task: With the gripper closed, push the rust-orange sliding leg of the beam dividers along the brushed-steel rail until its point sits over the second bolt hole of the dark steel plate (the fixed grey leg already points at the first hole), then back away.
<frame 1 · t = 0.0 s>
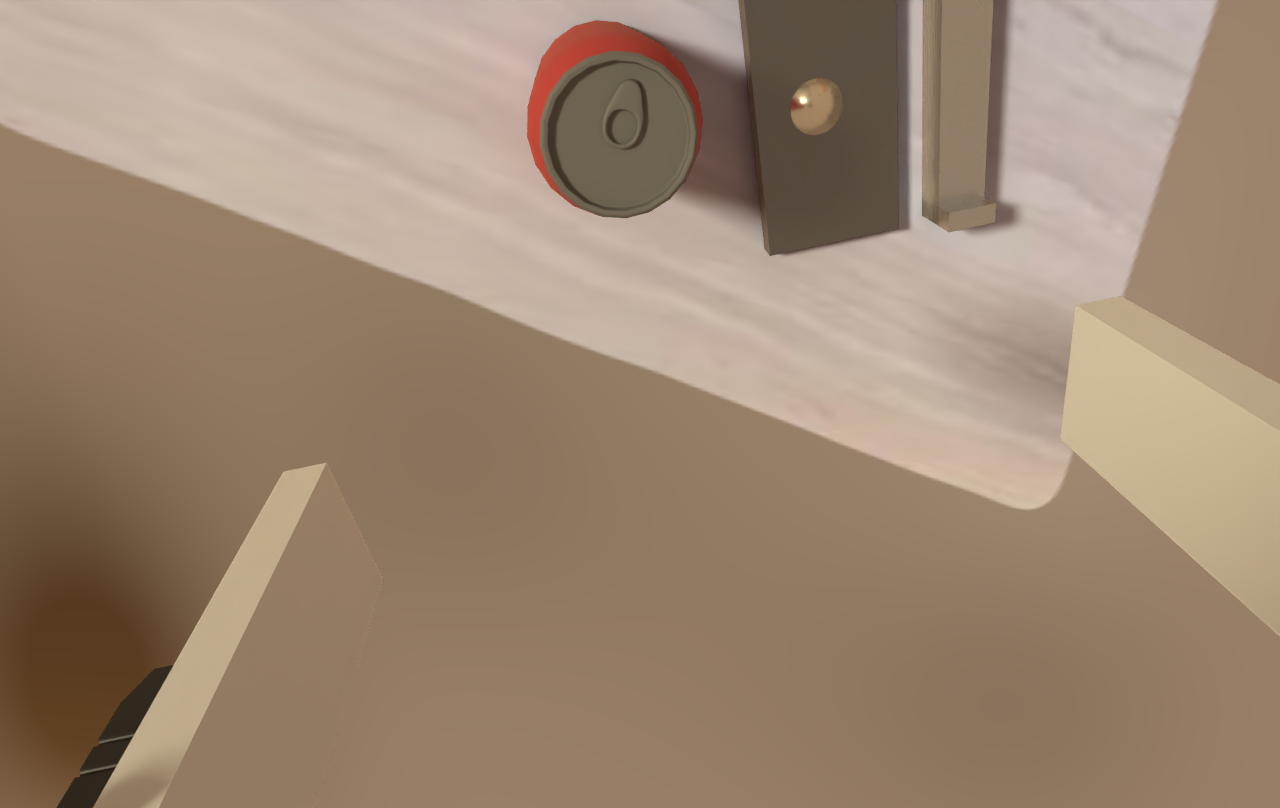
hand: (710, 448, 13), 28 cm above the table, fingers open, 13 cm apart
beer can: (602, 95, 36), on the table
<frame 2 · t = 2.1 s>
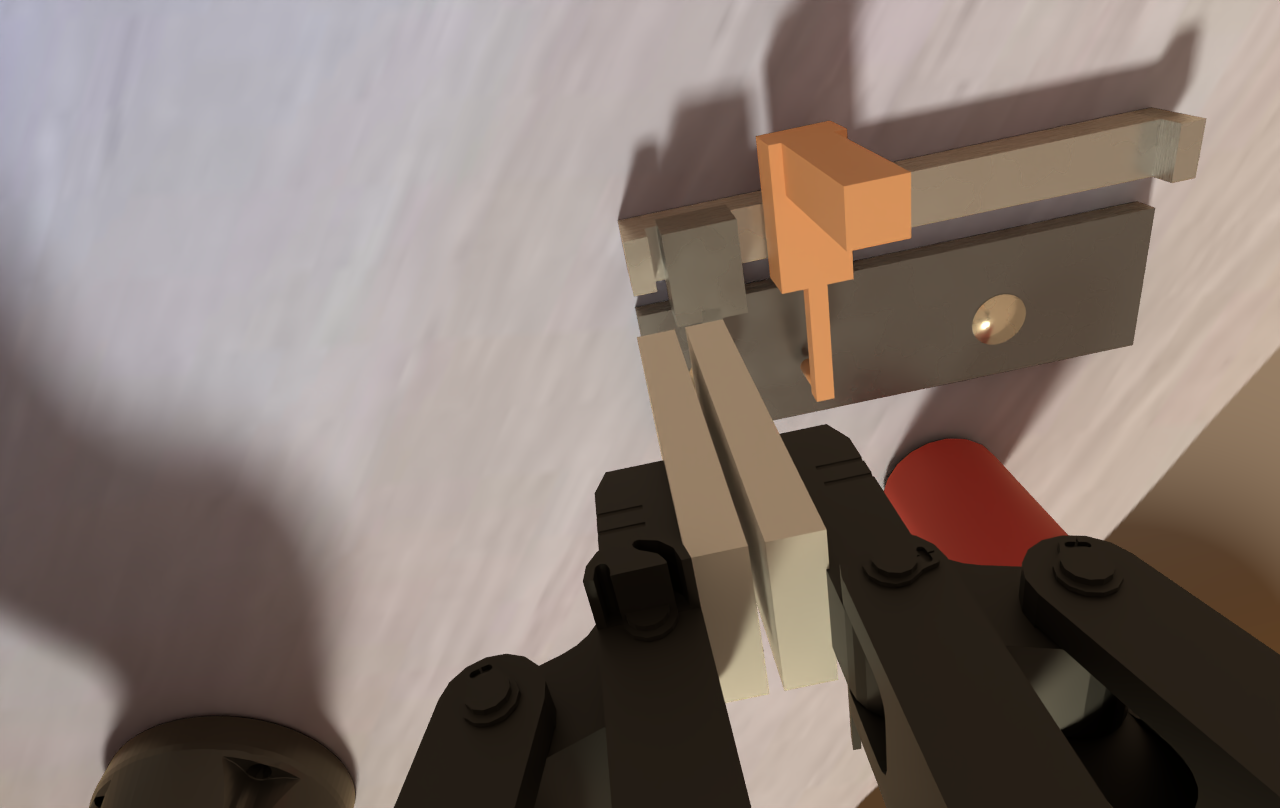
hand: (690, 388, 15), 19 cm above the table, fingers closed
hole plate: (886, 321, 37), on the table
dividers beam: (884, 191, 33), on the table
sliding leg: (835, 300, 29), point 7 cm above the table, slide at 1.0 cm
beer can: (934, 480, 42), on the table
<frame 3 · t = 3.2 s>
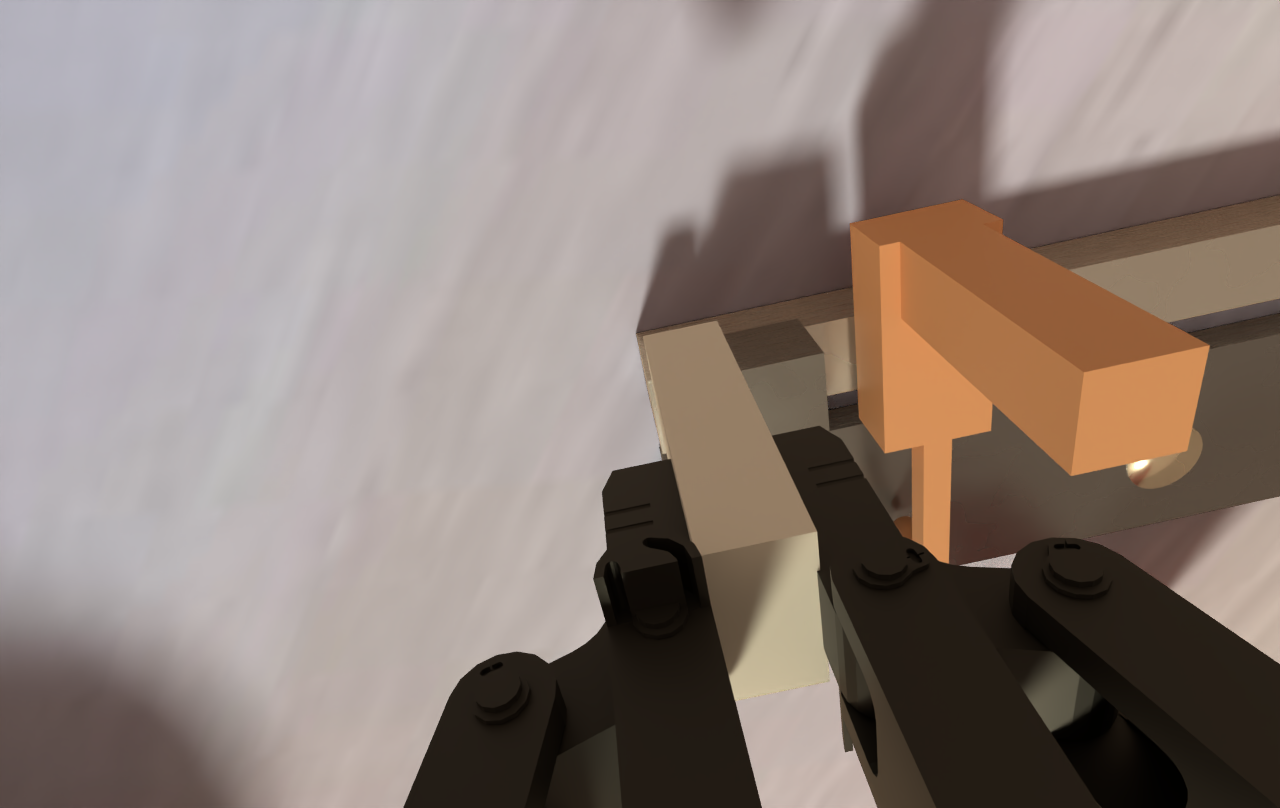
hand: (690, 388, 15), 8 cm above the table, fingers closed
hole plate: (1005, 456, 27), on the table
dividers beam: (1017, 287, 23), on the table
sliding leg: (979, 481, 19), point 7 cm above the table, slide at 1.0 cm
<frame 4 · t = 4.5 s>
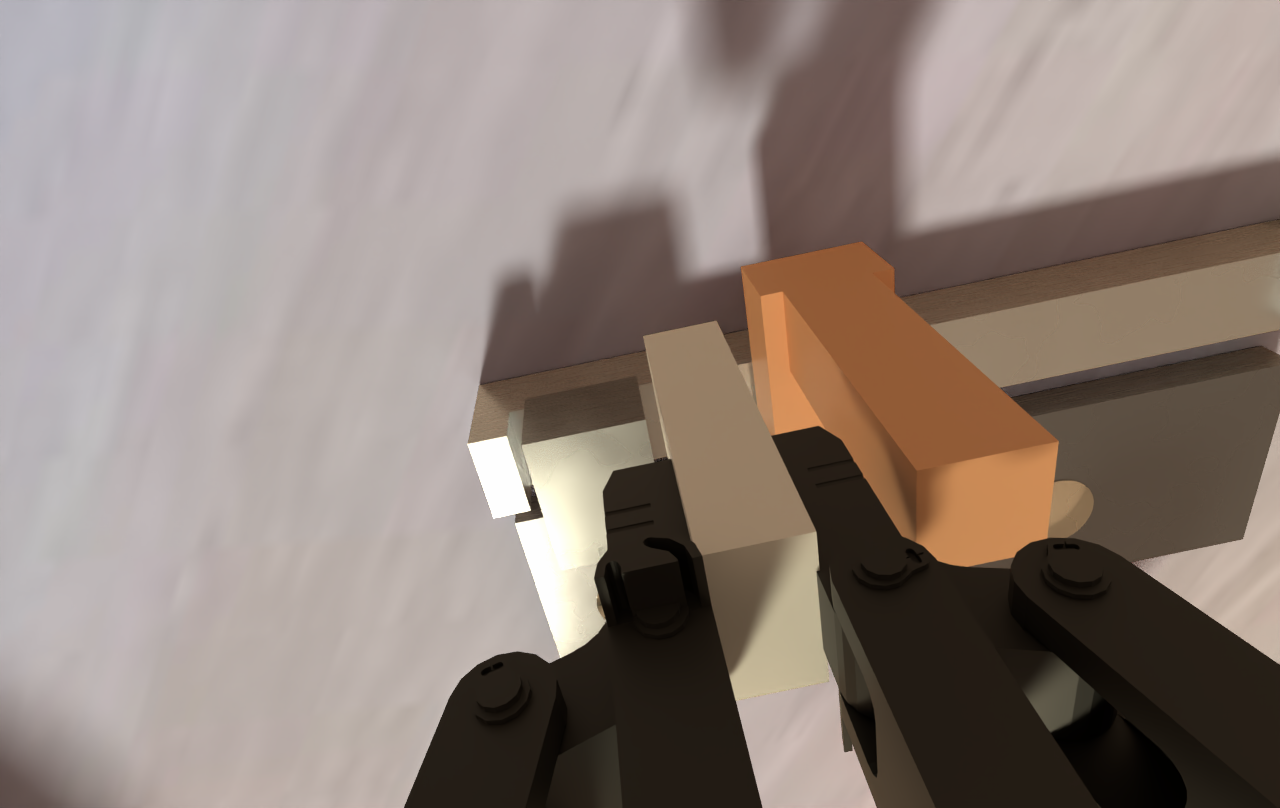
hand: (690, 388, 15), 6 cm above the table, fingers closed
hole plate: (889, 509, 25), on the table
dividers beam: (887, 337, 22), on the table
sliding leg: (871, 547, 17), point 7 cm above the table, slide at 2.5 cm, touching gripper
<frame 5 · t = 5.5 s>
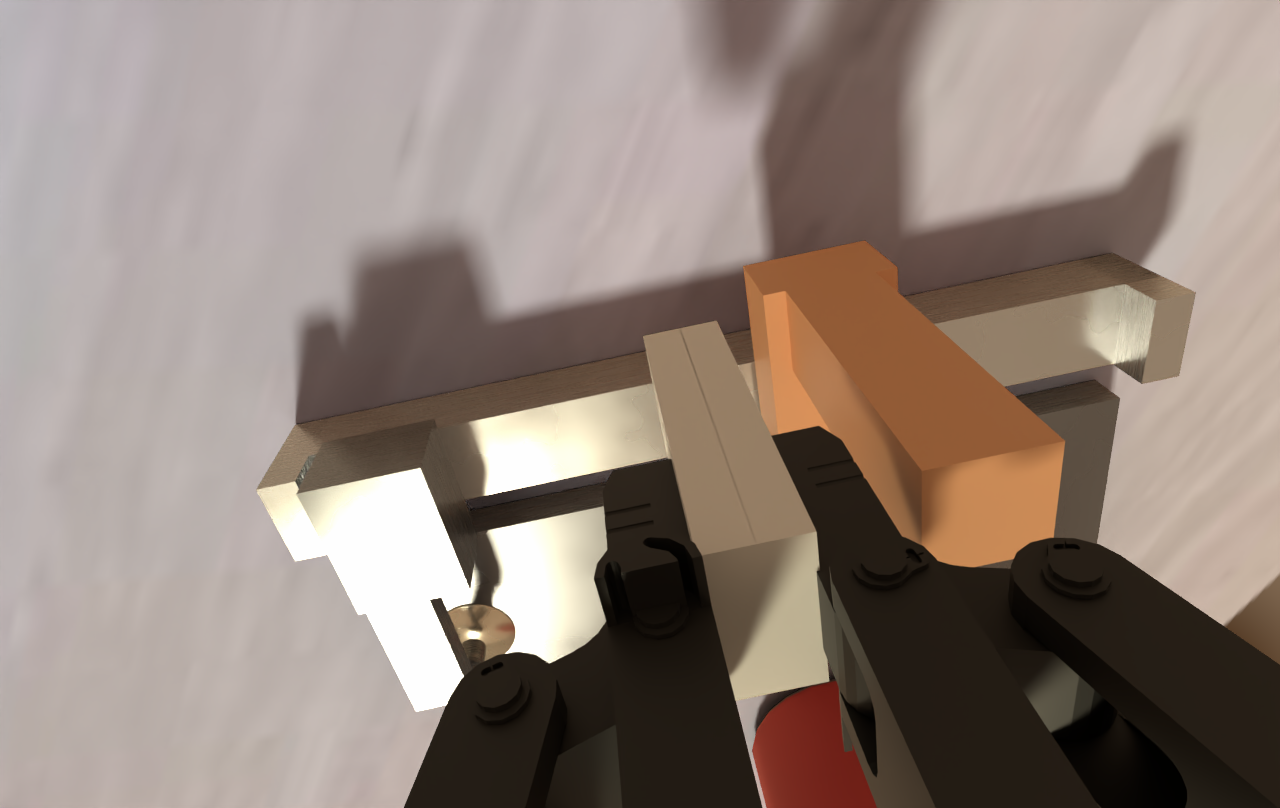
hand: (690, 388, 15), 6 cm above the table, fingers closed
hole plate: (734, 542, 25), on the table
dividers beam: (708, 375, 22), on the table
sliding leg: (875, 547, 17), point 7 cm above the table, slide at 8.0 cm, touching gripper
beer can: (826, 721, 31), on the table
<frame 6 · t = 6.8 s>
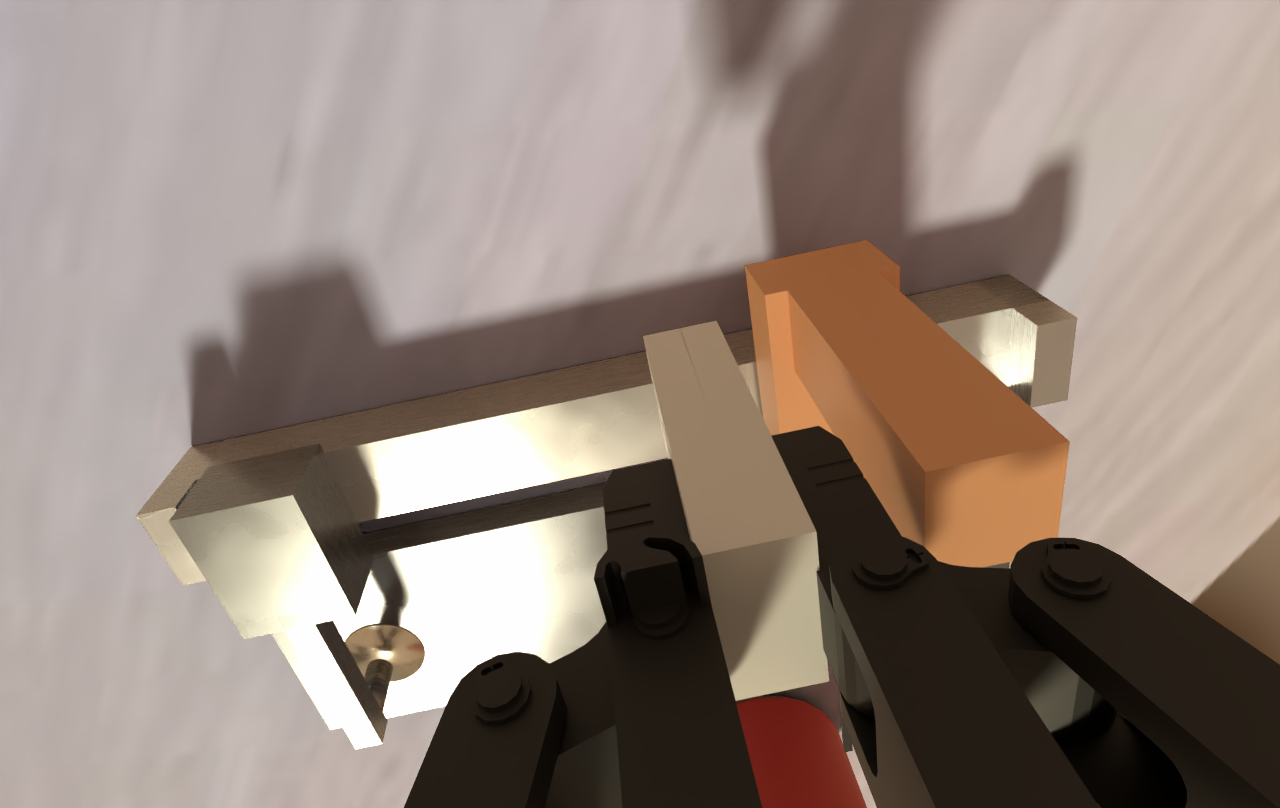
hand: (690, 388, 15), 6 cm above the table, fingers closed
hole plate: (646, 561, 25), on the table
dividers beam: (607, 396, 22), on the table
sliding leg: (877, 547, 17), point 7 cm above the table, slide at 11.1 cm, touching gripper
beer can: (754, 737, 31), on the table
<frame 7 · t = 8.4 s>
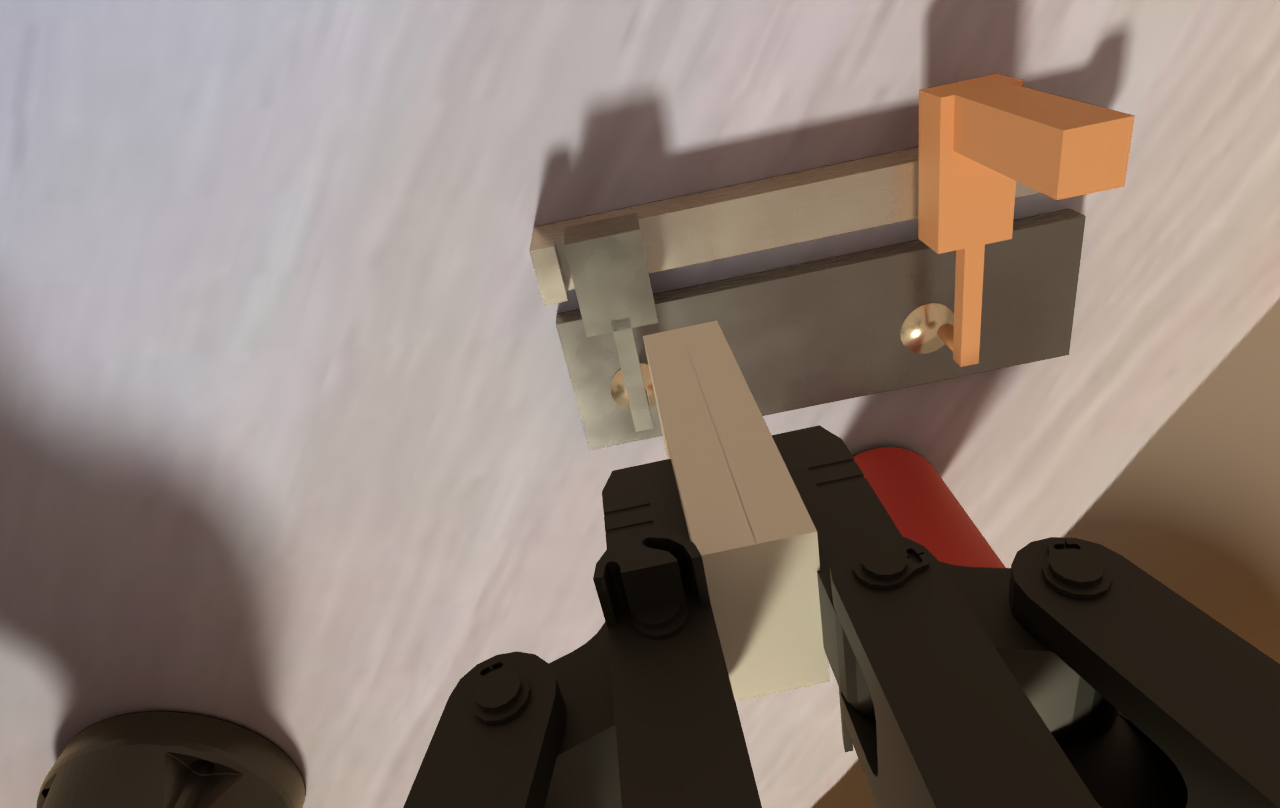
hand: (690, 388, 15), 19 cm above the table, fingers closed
hole plate: (815, 329, 36), on the table
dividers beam: (805, 198, 33), on the table
sliding leg: (1002, 259, 28), point 7 cm above the table, slide at 11.1 cm
beer can: (873, 488, 42), on the table
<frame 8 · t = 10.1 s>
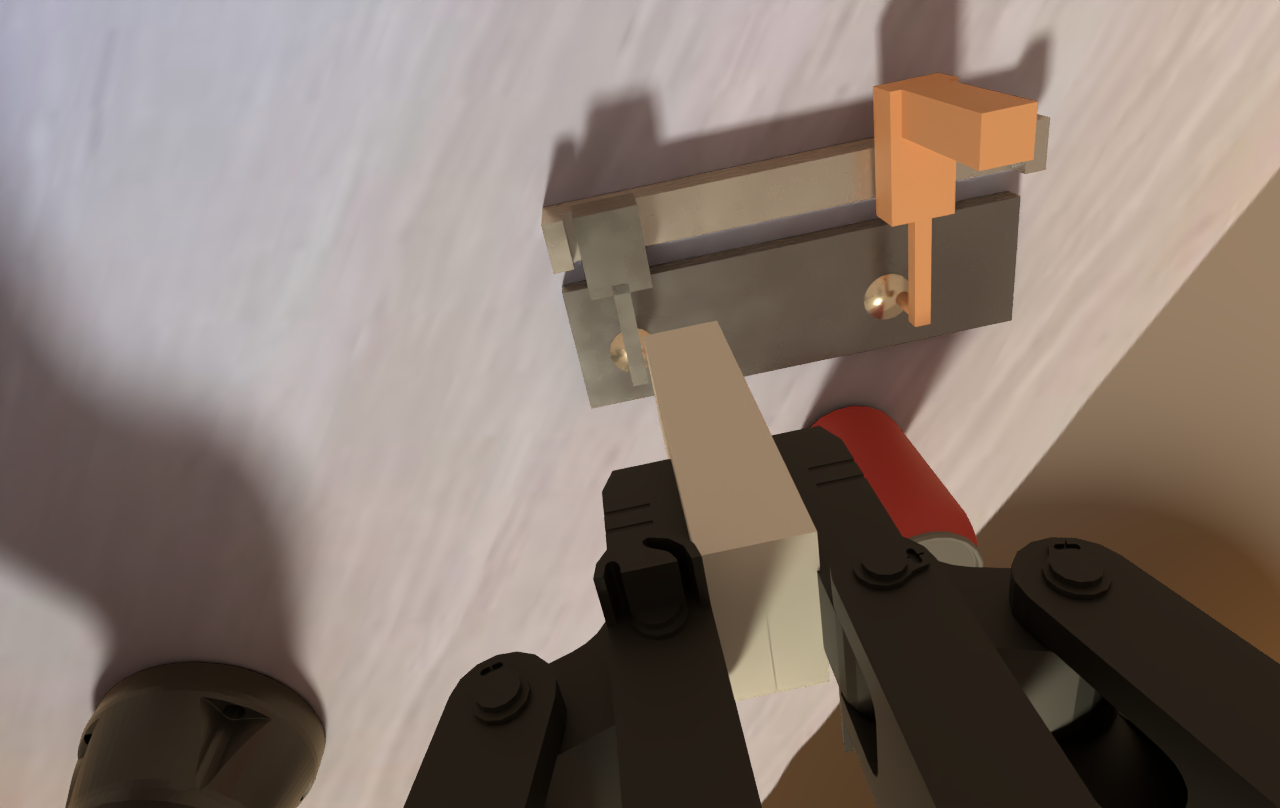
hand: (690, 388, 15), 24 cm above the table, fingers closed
hole plate: (790, 299, 41), on the table
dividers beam: (779, 181, 38), on the table
sliding leg: (945, 228, 33), point 7 cm above the table, slide at 11.1 cm
beer can: (844, 445, 47), on the table
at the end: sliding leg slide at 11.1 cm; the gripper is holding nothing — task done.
